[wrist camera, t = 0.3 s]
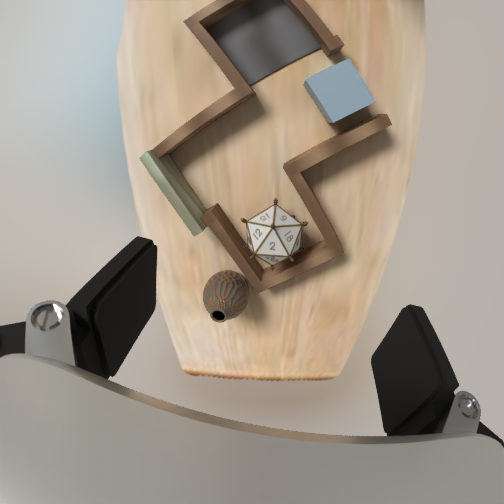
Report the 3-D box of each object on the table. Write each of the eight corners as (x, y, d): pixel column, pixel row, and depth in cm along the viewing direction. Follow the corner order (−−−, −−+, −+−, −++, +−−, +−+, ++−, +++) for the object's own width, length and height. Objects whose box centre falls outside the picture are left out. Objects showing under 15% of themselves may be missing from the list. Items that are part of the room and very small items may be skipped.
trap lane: (280, -20, 23) (278, -36, 19) (417, 202, 35) (431, 213, 31) (115, 92, 33) (96, 91, 29) (249, 285, 45) (245, 304, 41)
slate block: (341, 66, 29) (348, 58, 24) (364, 103, 31) (375, 101, 26) (303, 84, 31) (305, 79, 26) (327, 122, 33) (333, 122, 28)
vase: (241, 258, 43) (230, 290, 36) (257, 293, 46) (250, 329, 38) (203, 270, 45) (185, 302, 38) (220, 303, 48) (208, 337, 40)
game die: (289, 217, 43) (326, 261, 37) (243, 246, 43) (273, 295, 37) (274, 175, 36) (317, 220, 30) (219, 209, 36) (251, 261, 30)
